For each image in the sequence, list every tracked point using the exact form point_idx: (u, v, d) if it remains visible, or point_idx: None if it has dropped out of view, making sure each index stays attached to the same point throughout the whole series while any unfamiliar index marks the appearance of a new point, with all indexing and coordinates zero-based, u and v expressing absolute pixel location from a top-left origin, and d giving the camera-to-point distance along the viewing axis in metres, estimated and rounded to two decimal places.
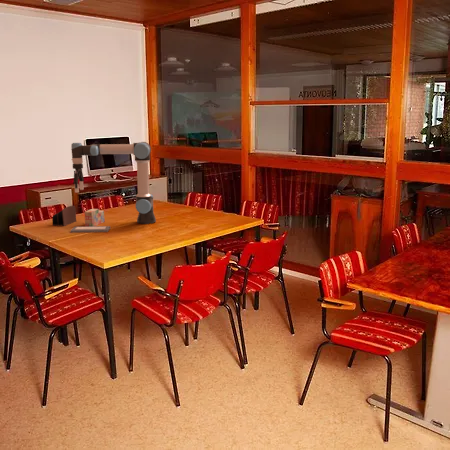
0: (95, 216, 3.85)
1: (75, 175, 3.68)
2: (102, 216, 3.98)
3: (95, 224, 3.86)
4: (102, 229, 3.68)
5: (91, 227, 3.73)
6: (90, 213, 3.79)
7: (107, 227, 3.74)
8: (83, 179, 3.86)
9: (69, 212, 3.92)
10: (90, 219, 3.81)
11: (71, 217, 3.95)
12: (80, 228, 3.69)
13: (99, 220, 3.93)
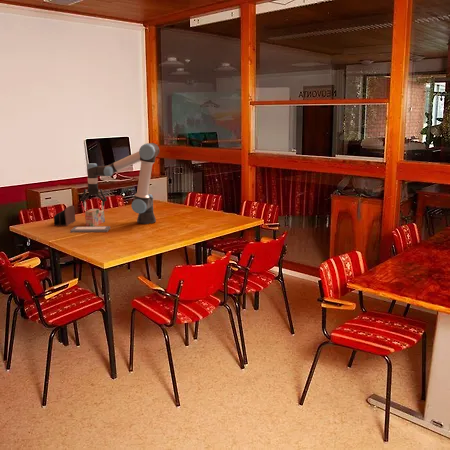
0: (95, 216, 3.86)
1: (83, 193, 3.86)
2: (102, 216, 3.98)
3: (95, 224, 3.86)
4: (102, 229, 3.68)
5: (91, 227, 3.73)
6: (91, 213, 3.80)
7: (107, 227, 3.74)
8: (105, 200, 3.87)
9: (70, 212, 3.93)
10: (91, 219, 3.81)
11: (71, 217, 3.96)
12: (80, 228, 3.69)
13: (99, 220, 3.93)
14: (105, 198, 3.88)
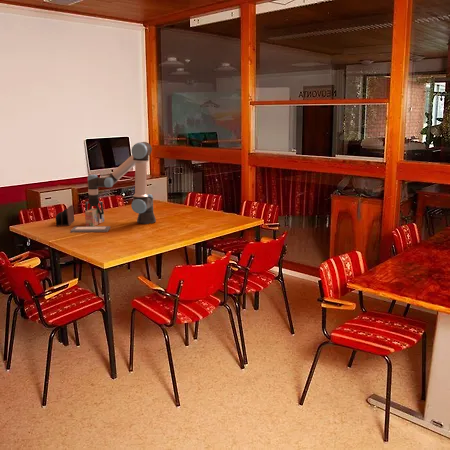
0: (95, 216, 3.86)
1: None
2: (102, 216, 3.98)
3: (95, 224, 3.86)
4: (102, 229, 3.68)
5: (91, 227, 3.73)
6: (91, 213, 3.80)
7: (107, 227, 3.74)
8: (102, 213, 3.89)
9: (70, 212, 3.93)
10: (91, 219, 3.81)
11: (71, 217, 3.96)
12: (80, 228, 3.69)
13: None
14: (103, 211, 3.90)
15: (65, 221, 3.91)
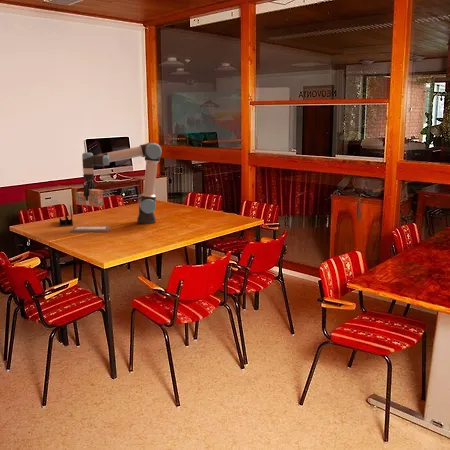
0: None
1: (85, 187, 3.63)
2: None
3: None
4: (102, 229, 3.68)
5: (91, 227, 3.73)
6: (101, 191, 3.68)
7: (107, 227, 3.74)
8: None
9: None
10: (101, 197, 3.69)
11: None
12: (80, 228, 3.69)
13: None
14: None
15: (67, 221, 3.91)
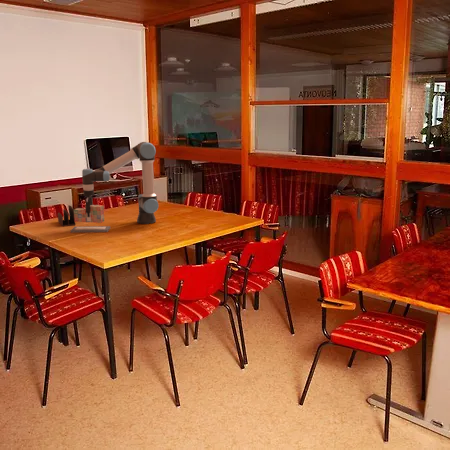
0: None
1: (87, 204, 3.61)
2: None
3: None
4: (102, 229, 3.68)
5: (91, 227, 3.73)
6: (103, 207, 3.68)
7: (107, 227, 3.74)
8: None
9: (71, 211, 3.95)
10: (103, 213, 3.69)
11: (71, 216, 3.98)
12: (80, 228, 3.69)
13: None
14: None
15: (68, 221, 3.92)
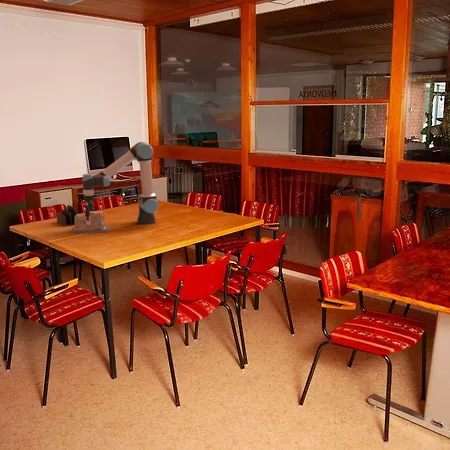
0: None
1: (87, 207, 3.60)
2: None
3: None
4: (102, 229, 3.68)
5: None
6: (103, 213, 3.69)
7: (107, 227, 3.74)
8: None
9: None
10: (103, 219, 3.70)
11: None
12: (80, 228, 3.69)
13: None
14: None
15: None
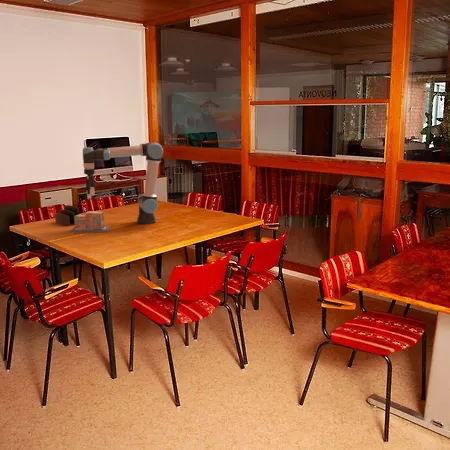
0: None
1: (87, 181, 3.58)
2: None
3: None
4: (102, 229, 3.68)
5: None
6: (103, 213, 3.69)
7: (107, 227, 3.74)
8: (94, 185, 3.76)
9: None
10: (103, 219, 3.70)
11: None
12: (80, 228, 3.69)
13: None
14: (93, 182, 3.76)
15: None
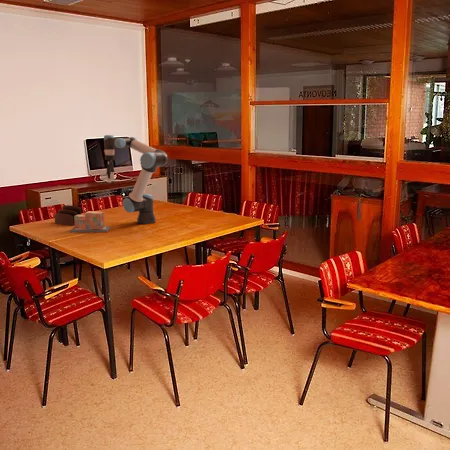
0: None
1: (108, 166, 3.87)
2: None
3: None
4: (102, 229, 3.68)
5: None
6: (103, 213, 3.68)
7: (107, 227, 3.74)
8: (113, 170, 4.05)
9: None
10: (103, 220, 3.69)
11: None
12: (80, 228, 3.69)
13: None
14: (113, 168, 4.05)
15: None
